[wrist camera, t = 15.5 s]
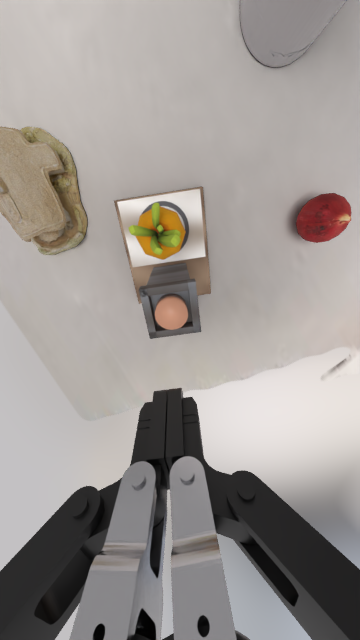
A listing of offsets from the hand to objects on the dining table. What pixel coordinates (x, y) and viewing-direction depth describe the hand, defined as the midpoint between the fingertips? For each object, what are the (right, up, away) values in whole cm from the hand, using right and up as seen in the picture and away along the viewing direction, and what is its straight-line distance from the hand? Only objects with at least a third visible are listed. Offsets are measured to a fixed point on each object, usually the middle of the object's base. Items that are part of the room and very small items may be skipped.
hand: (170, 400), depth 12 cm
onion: (+19, +20, +20) cm, 34 cm away
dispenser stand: (-1, +15, +21) cm, 26 cm away
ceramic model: (-18, +22, +18) cm, 33 cm away
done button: (0, +6, +11) cm, 13 cm away
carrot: (-2, +17, +18) cm, 25 cm away
